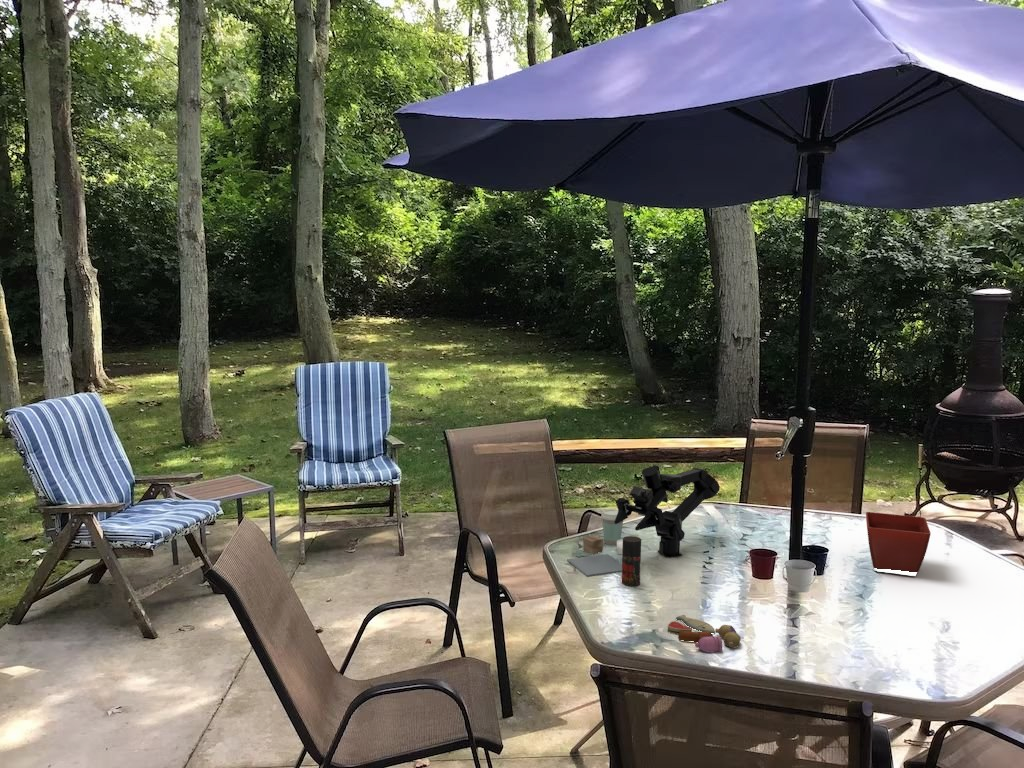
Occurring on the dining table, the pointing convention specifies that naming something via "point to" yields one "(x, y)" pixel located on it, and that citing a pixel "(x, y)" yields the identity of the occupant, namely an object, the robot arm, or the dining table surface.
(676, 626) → the toy food set
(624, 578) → the deodorant
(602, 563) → the slate board
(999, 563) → the dining table surface
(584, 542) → the walnut box
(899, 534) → the plant pot
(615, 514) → the coffee cup
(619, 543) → the off-white smooth dome
